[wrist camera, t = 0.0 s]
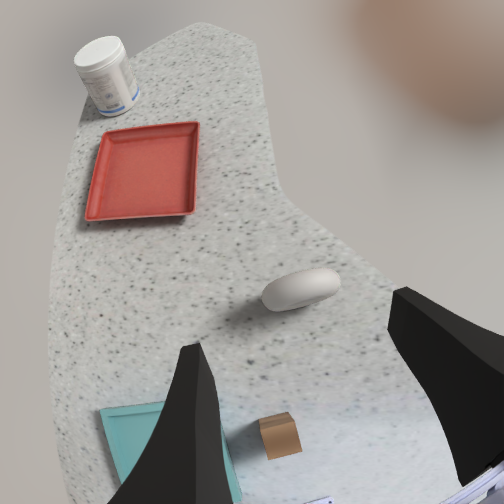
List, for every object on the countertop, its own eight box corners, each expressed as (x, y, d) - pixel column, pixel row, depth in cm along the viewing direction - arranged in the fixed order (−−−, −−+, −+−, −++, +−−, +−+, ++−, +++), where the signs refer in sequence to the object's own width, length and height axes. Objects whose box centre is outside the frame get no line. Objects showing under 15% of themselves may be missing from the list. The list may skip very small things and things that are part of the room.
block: (294, 437, 38) (302, 451, 31) (265, 445, 37) (268, 460, 31) (287, 411, 39) (294, 421, 32) (258, 418, 39) (260, 429, 32)
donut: (263, 318, 43) (267, 307, 34) (257, 294, 44) (259, 276, 35) (332, 300, 44) (354, 284, 34) (326, 277, 45) (345, 255, 36)
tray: (242, 494, 35) (241, 501, 32) (136, 503, 33) (131, 510, 31) (212, 392, 40) (210, 394, 37) (106, 407, 38) (99, 409, 36)
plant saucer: (202, 131, 54) (200, 119, 51) (199, 223, 48) (195, 213, 45) (108, 142, 54) (102, 131, 50) (92, 230, 48) (83, 221, 45)
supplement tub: (122, 82, 59) (103, 31, 45) (150, 94, 57) (132, 38, 43) (90, 110, 56) (64, 60, 42) (115, 125, 54) (89, 70, 41)
